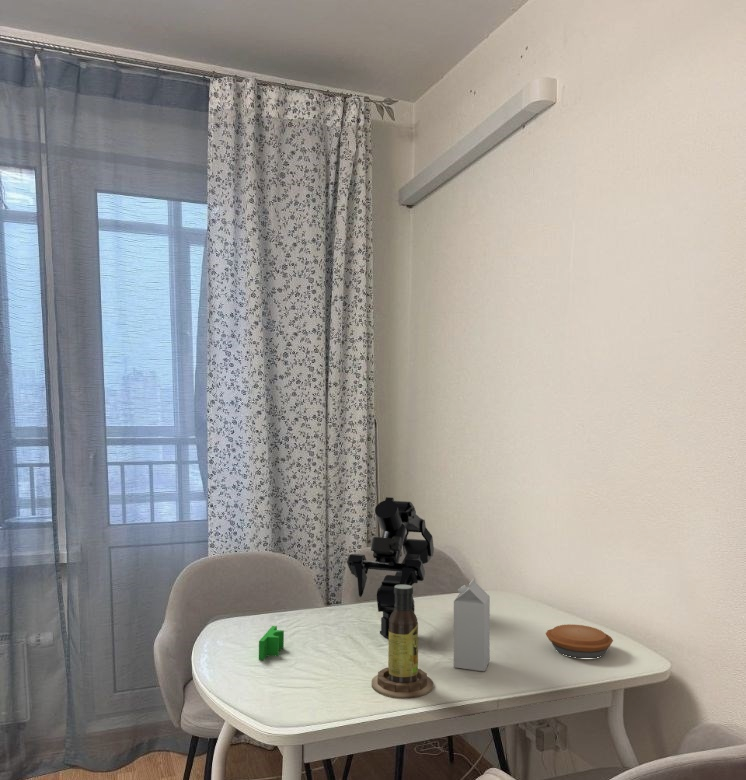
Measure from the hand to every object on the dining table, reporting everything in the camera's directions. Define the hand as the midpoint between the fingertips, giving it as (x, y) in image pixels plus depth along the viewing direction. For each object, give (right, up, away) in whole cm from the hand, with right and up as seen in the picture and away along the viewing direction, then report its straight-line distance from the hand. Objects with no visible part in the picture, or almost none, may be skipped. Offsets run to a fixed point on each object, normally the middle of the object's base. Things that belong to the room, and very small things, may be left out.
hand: (378, 597), depth 155 cm
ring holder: (+5, -13, -17) cm, 22 cm away
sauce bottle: (+5, -13, -17) cm, 22 cm away
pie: (+49, -15, +4) cm, 51 cm away
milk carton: (+21, -14, -5) cm, 26 cm away
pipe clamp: (-25, -14, +2) cm, 29 cm away
